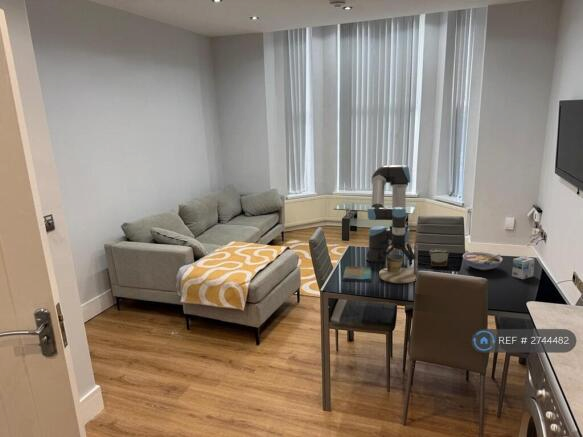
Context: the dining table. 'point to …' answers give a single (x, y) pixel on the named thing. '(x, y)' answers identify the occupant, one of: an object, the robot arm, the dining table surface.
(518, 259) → the light bulb box
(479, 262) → the ramen bowl
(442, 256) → the food container
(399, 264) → the ceramic cup
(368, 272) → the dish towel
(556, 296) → the dining table surface
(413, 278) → the turntable
